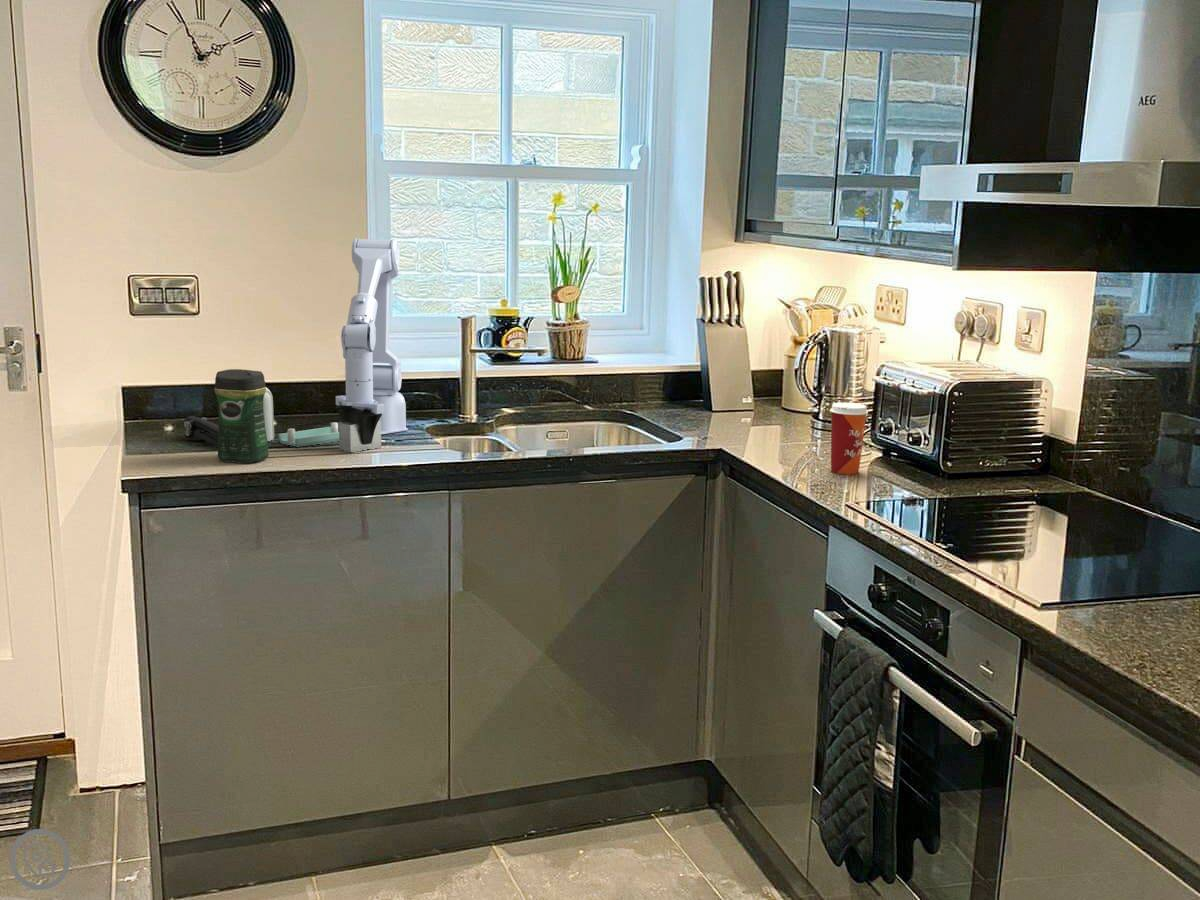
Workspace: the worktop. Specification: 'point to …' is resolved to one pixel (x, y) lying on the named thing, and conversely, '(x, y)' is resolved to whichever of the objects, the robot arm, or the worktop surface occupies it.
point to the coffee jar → (241, 416)
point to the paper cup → (847, 437)
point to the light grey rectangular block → (356, 437)
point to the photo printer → (268, 415)
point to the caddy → (310, 436)
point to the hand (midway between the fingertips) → (360, 442)
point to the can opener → (201, 430)
